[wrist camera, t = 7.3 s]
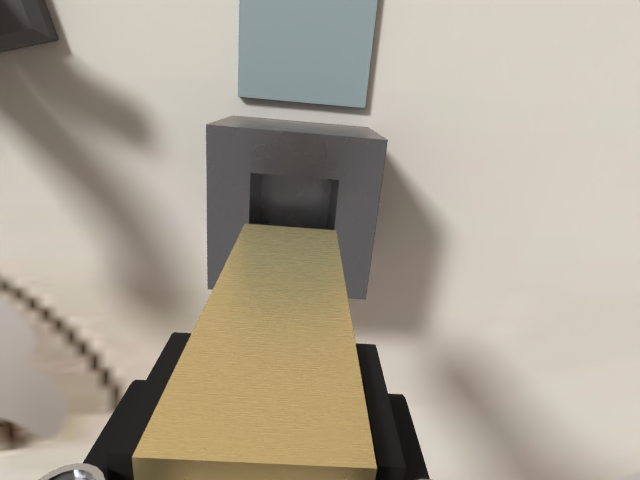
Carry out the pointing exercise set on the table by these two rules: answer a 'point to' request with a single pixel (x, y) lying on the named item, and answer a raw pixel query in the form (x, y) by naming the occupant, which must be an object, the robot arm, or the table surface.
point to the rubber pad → (306, 50)
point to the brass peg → (266, 373)
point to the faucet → (25, 24)
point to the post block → (294, 186)
